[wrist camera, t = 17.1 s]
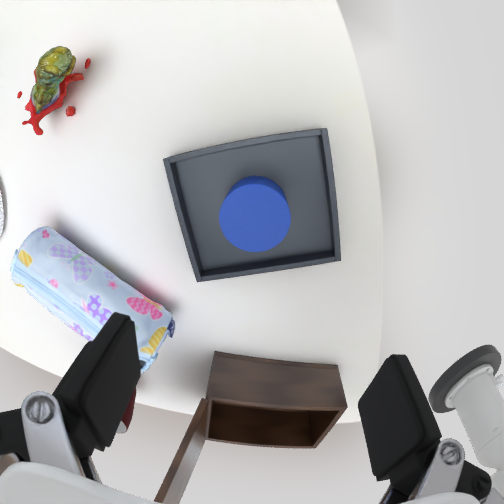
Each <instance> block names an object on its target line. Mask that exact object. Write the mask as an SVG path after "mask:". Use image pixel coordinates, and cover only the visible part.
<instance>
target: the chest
mask: <svg viewBox="0 0 504 504" xmlns="http://www.w3.org/2000/svg"><path fill="white" fill-rule="evenodd" d="M206 399H207V400H208V408H207V419H206V430H205V440H211V441H217V442H224V443H231V444H240V445H249V446H260V447H275V448H316V447H317V446H318V445H319V443H320V442H321V441H322V440H323V439H324V437H325V436H326V435H327V434H328V432H329V431H330V430H331V429H332V427H333V426H334V425H335V423H336V422H337V421H338V419H339V418H340V417H341V415H342V414H343V413H344V411H345V410H346V409H347V403H346V398H345V394H344V390H343V386H342V382H341V378H340V374H339V370H338V366H337V365H326V364H312V363H300V362H290V361H280V360H271V359H263V358H255V357H248V356H241V355H235V354H228V353H222V352H216V351H215V352H214V357H213V362H212V367H211V372H210V377H209V382H208V387H207V392H206Z"/></svg>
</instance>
